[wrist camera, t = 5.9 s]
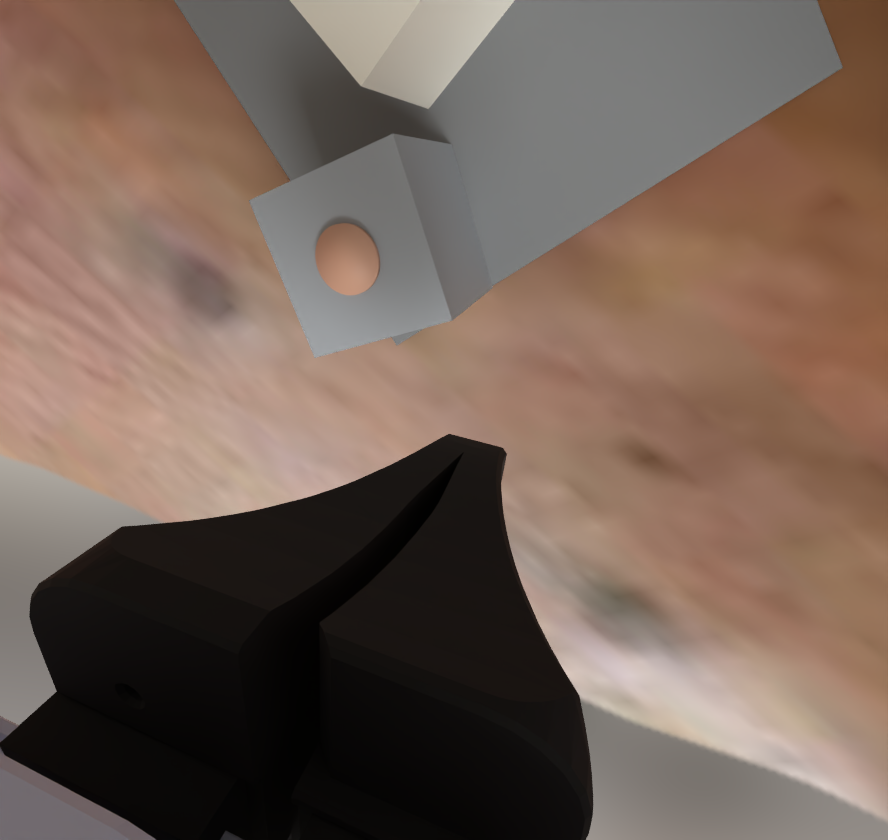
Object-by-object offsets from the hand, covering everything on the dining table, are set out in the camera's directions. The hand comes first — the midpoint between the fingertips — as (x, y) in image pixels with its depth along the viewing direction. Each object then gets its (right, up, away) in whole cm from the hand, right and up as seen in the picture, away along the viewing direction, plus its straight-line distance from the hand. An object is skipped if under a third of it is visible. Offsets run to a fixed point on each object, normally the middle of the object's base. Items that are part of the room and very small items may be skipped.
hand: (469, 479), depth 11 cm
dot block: (-2, +8, +8) cm, 11 cm away
